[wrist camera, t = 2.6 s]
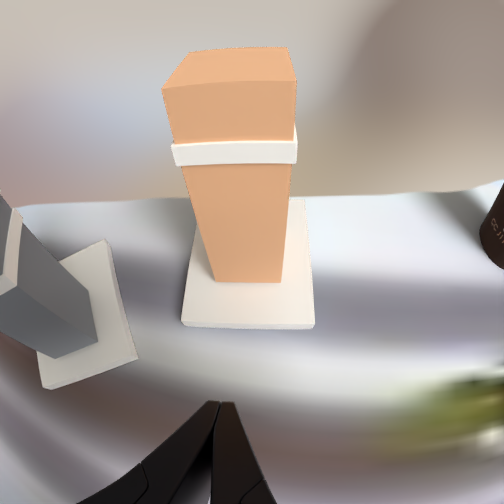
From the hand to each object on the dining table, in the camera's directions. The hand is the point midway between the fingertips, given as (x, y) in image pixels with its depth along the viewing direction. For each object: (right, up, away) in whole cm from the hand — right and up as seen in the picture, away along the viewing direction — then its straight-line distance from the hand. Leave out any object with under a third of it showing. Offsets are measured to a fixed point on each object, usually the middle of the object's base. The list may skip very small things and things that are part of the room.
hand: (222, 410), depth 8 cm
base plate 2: (+1, +4, +15) cm, 15 cm away
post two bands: (-13, -1, +10) cm, 17 cm away
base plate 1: (-14, 0, +12) cm, 18 cm away
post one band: (+1, +5, +13) cm, 14 cm away
